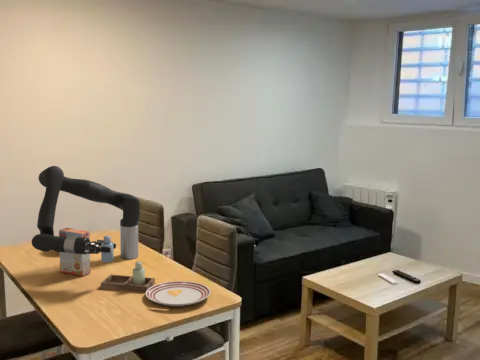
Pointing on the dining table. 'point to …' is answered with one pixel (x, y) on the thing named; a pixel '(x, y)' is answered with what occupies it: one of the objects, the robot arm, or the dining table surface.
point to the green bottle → (138, 274)
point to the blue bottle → (107, 256)
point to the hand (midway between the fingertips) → (112, 248)
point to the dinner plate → (188, 296)
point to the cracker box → (74, 255)
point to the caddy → (126, 283)
